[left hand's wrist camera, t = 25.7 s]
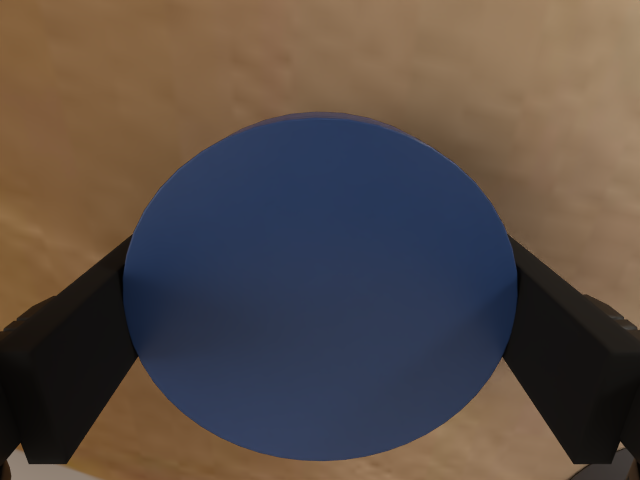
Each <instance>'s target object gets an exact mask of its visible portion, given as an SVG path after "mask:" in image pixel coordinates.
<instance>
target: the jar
mask: <svg viewBox="0 0 640 480" xmlns="http://www.w3.org/2000/svg"><path fill="white" fill-rule="evenodd" d="M633 460H634V457H633V456H632V454H631V453H630V452H629V451H628V450H627V449H626V448H625V449H622V450H620V451H617V452H616V453H615V456H614V459H613V461H612V464H591V465H589V466H587V467H586V468H584V469H583V470H582V471H580V472H579V473H578V474H576V475H575V476H574V477H573V478H572V479H571V480H625V479H626V477H627V474H628V472H629V469H630V467H631V465H632V462H633Z"/></svg>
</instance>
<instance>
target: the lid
mask: <svg viewBox="0 0 640 480" xmlns="http://www.w3.org/2000/svg"><path fill="white" fill-rule="evenodd" d="M517 298H518V286H517V270H516V264H515V259H514V254H513V249H512V246H511V243H510V241H509V238H508V235H507V232H506V230H505V227H504V225H503V223H502V221H501V219H500V218H499V216H498V214H497V212H496V210H495V208H494V207H493V205H492V203H491V202H490V201H489V199H488V198H487V197H486V195H485V194H484V193H483V192H482V190H481V189H480V188H479V186H478V185H477V184H476V183H475V182H474V181H473V180H472V179H471V178H470V177H469V176H468V175H467V174H466V173H465V172H464V171H463V170H462V169H461V168H460V167H458V166H457V165H456V164H455V163H454V162H452V161H451V160H450V159H448V158H447V157H445V156H444V155H442V154H441V153H440V152H438V151H437V150H435V149H434V148H432V147H431V146H429V145H427V144H426V143H424V142H422V141H420V140H419V139H417V138H415V137H413V136H411V135H409V134H407V133H405V132H403V131H401V130H399V129H397V128H395V127H393V126H391V125H388V124H385V123H382V122H379V121H376V120H373V119H370V118H366V117H361V116H356V115H351V114H345V113H332V112H308V113H296V114H288V115H284V116H280V117H275V118H271V119H267V120H263V121H261V122H258V123H256V124H253V125H250V126H248V127H245V128H242V129H240V130H238V131H237V132H235V133H233V134H231V135H229V136H228V137H226V138H224V139H222V140H220V141H219V142H217V143H215V144H214V145H212V146H210V147H208V148H207V149H205V150H203V151H201V152H200V153H199V154H197V155H196V156H195V157H194V158H192V159H191V160H190V161H188V162H187V163H186V164H184V165H183V166H182V167H180V168H179V169H178V170H177V171H176V172H175V173H174V174H173V175H172V176H171V177H170V178H169V179H168V180H167V181H166V182H165V183H164V185H163V186H162V187H161V188H160V189H159V190H158V192H157V193H156V194H155V196H154V197H153V199H152V200H151V201H150V203H149V204H148V206H147V207H146V209H145V210H144V212H143V214H142V216H141V218H140V220H139V222H138V224H137V226H136V228H135V230H134V232H133V235H132V239H131V242H130V245H129V248H128V251H127V254H126V261H125V267H124V274H123V305H124V311H125V316H126V321H127V326H128V330H129V334H130V337H131V340H132V343H133V346H134V348H135V350H136V352H137V354H138V356H139V358H140V361H141V363H142V365H143V366H144V368H145V369H146V371H147V372H148V374H149V375H150V377H151V379H152V380H153V382H154V383H155V384H156V385H157V387H158V388H159V389H160V390H161V391H162V392H163V394H164V395H165V396H166V397H167V398H168V399H169V400H170V401H171V402H172V403H173V404H174V405H175V406H176V407H177V408H178V409H179V410H180V411H181V412H183V413H184V414H185V415H186V416H188V417H189V418H190V419H192V420H193V421H194V422H196V423H197V424H198V425H200V426H201V427H203V428H205V429H206V430H208V431H210V432H212V433H213V434H215V435H217V436H218V437H220V438H223V439H225V440H227V441H229V442H231V443H234V444H236V445H238V446H241V447H244V448H247V449H250V450H253V451H256V452H259V453H263V454H267V455H271V456H276V457H280V458H288V459H295V460H307V461H332V460H346V459H353V458H359V457H366V456H370V455H373V454H377V453H381V452H385V451H388V450H391V449H394V448H397V447H399V446H402V445H405V444H407V443H409V442H411V441H414V440H416V439H418V438H420V437H422V436H424V435H426V434H428V433H429V432H431V431H432V430H434V429H436V428H437V427H439V426H440V425H442V424H444V423H445V422H446V421H448V420H449V419H450V418H451V417H453V416H454V415H455V414H457V413H458V412H459V411H460V410H462V409H463V408H464V407H465V406H466V405H467V404H468V403H469V402H470V401H471V400H472V399H473V398H474V397H475V396H476V395H477V393H478V392H479V391H480V390H481V388H482V387H483V386H484V384H485V383H486V382H487V381H488V379H489V378H490V377H491V375H492V373H493V372H494V370H495V368H496V367H497V365H498V363H499V362H500V360H501V358H502V356H503V353H504V351H505V349H506V346H507V344H508V342H509V339H510V335H511V332H512V327H513V323H514V319H515V313H516V307H517Z"/></svg>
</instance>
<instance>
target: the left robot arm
mask: <svg viewBox="0 0 640 480" xmlns="http://www.w3.org/2000/svg"><path fill="white" fill-rule="evenodd" d="M132 235H133V234H132ZM132 235H131V236H130V237H129V238H127V239H126V240H125V241H124V242H122V243H121V244H120V245H119V246H117V247H116V248H115V249H114V250H113V251H111V252H110V253H109V254H108V255H106V256H105V257H104V258H103V259H101V260H100V261H99V262H98V263H96V264H95V265H94V266H93V267H92V268H90V269H89V270H88V271H87V272H85V273H84V274H83V275H82V276H80V277H79V278H78V279H77V280H75V281H74V282H73V283H72V284H70V285H69V286H68V287H67V288H66V289H64V290H63V291H62V292H61V293H59V294H58V295H57V296H53V297H51V298H49V299H47V300H44V301H42V302H40V303H38V304H36V305H34V306H32V307H31V308H30V309H28V310H27V311H26V312H25V313H23V314H22V315H21V316H19V317H18V318H17V321H13V322H12V323H10V324H9V325H8V326H7V327H5V328H4V331H0V480H11V472H10V467H9V465H8V462H7V460H6V459H7V458H8V457H9V456H10V455H11V453H12V452H13V451H14V450H15V449H16V447H17V446H18V445H19V444H20V443H21V445H22V447H23V450H24V453H25V455H26V458H27V460H28V463H29V464H67V463H68V461H69V460H70V458H71V457H72V455H73V454H74V452H75V451H76V449H77V448H78V446H79V445H80V443H81V442H82V440H83V439H84V437H85V435H86V434H87V432H88V431H89V429H90V428H91V426H92V425H93V423H94V422H95V420H96V419H97V417H98V416H99V414H100V413H101V411H102V410H103V408H104V407H105V405H106V404H107V402H108V401H109V399H110V398H111V396H112V395H113V393H114V392H115V390H116V389H117V387H118V386H119V384H120V383H121V381H122V380H123V378H124V377H125V375H126V374H127V372H128V371H129V369H130V368H131V366H132V365H133V363H134V362H135V360H136V359H137V357H138V354H137V352H136V350H135V348H134V346H133V343H132V340H131V337H130V334H129V330H128V326H127V321H126V316H125V311H124V305H123V274H124V267H125V261H126V254H127V251H128V248H129V245H130V242H131V239H132ZM507 235H508V234H507ZM508 238H509V241H510V243H511V246H512V249H513V254H514V259H515V264H516V270H517V286H518V298H517V307H516V313H515V319H514V323H513V327H512V332H511V335H510V339H509V342H508V344H507V346H506V349H505V351H504V353H503V356H502V357H503V358H504V360H505V361H506V363H507V364H508V366H509V367H510V369H511V370H512V372H513V374H514V375H515V377H516V378H517V380H518V381H519V383H520V384H521V386H522V387H523V389H524V390H525V392H526V393H527V395H528V396H529V398H530V399H531V401H532V402H533V404H534V405H535V407H536V408H537V410H538V411H539V413H540V414H541V416H542V417H543V419H544V420H545V422H546V423H547V425H548V426H549V428H550V429H551V431H552V432H553V434H554V435H555V437H556V438H557V440H558V441H559V443H560V444H561V446H562V447H563V449H564V450H565V452H566V453H567V455H568V456H569V458H570V459H571V461H572V462H573V464H612V461H613V459H614V456H615V453H616V451H617V448H618V445H619V443H620V441H621V443H622V444H623V445H624V446H625V447H626V449H627V450H628V451H629V452H630V453H631V454H632V456H633V457H634V460H633V462H632V465H631V467H630V469H629V472H628V474H627V477H626V479H625V480H640V330H637V327H636V326H635V325H634V324H632V323H631V322H630V321H628V320H624V317H623V316H622V315H621V314H619V313H618V312H617V311H615V310H614V309H613V308H612V307H610V306H609V305H607V304H605V303H603V302H601V301H599V300H597V299H595V298H593V297H591V296H589V295H582V294H581V293H580V292H578V291H577V290H576V289H575V288H573V287H572V286H571V285H570V284H569V283H567V282H566V281H565V280H564V279H562V278H561V277H560V276H559V275H557V274H556V273H555V272H554V271H552V270H551V269H550V268H549V267H547V266H546V265H545V264H544V263H543V262H541V261H540V260H539V259H538V258H536V257H535V256H534V255H533V254H531V253H530V252H529V251H528V250H526V249H525V248H524V247H523V246H522V245H520V244H519V243H518V242H517V241H515V240H514V239H513V238H512V237H510V236H509V235H508Z"/></svg>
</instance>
